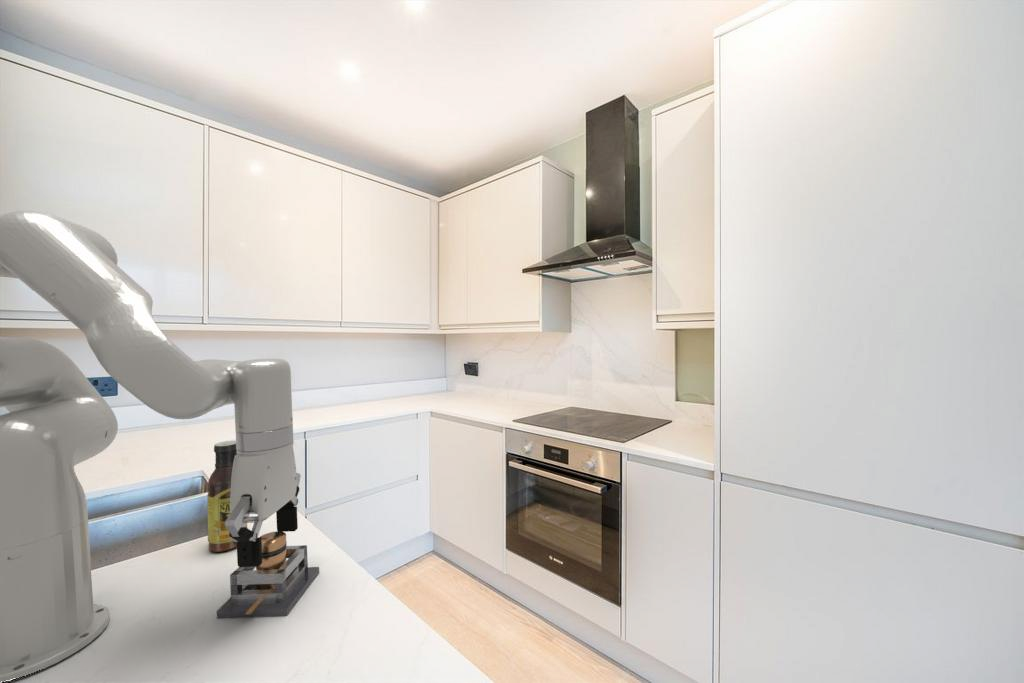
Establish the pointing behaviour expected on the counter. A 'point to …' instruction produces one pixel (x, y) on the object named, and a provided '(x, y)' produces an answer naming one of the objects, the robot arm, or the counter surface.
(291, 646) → the counter surface
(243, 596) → the collar stand
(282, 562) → the copper tube
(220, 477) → the sauce bottle
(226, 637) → the counter surface
